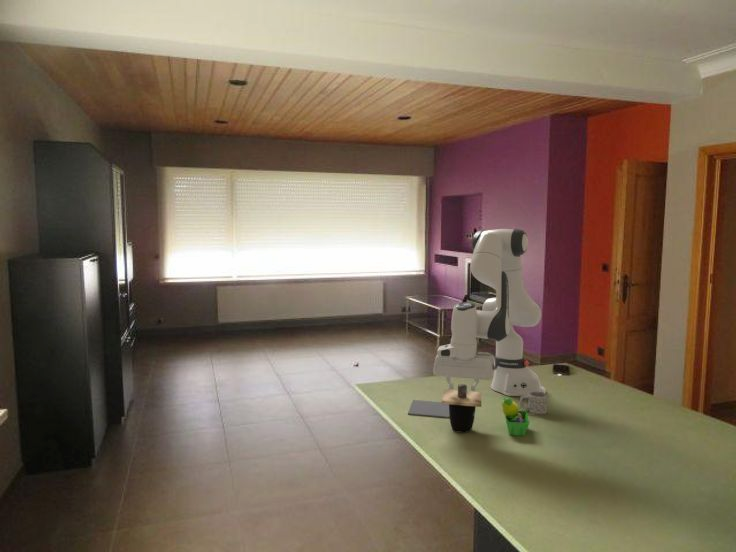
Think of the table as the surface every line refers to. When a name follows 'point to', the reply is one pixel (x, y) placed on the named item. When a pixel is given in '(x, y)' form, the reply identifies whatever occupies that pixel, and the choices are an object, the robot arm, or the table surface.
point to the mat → (429, 409)
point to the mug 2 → (535, 402)
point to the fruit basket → (515, 418)
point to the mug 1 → (461, 417)
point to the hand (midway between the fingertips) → (462, 389)
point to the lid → (462, 397)
